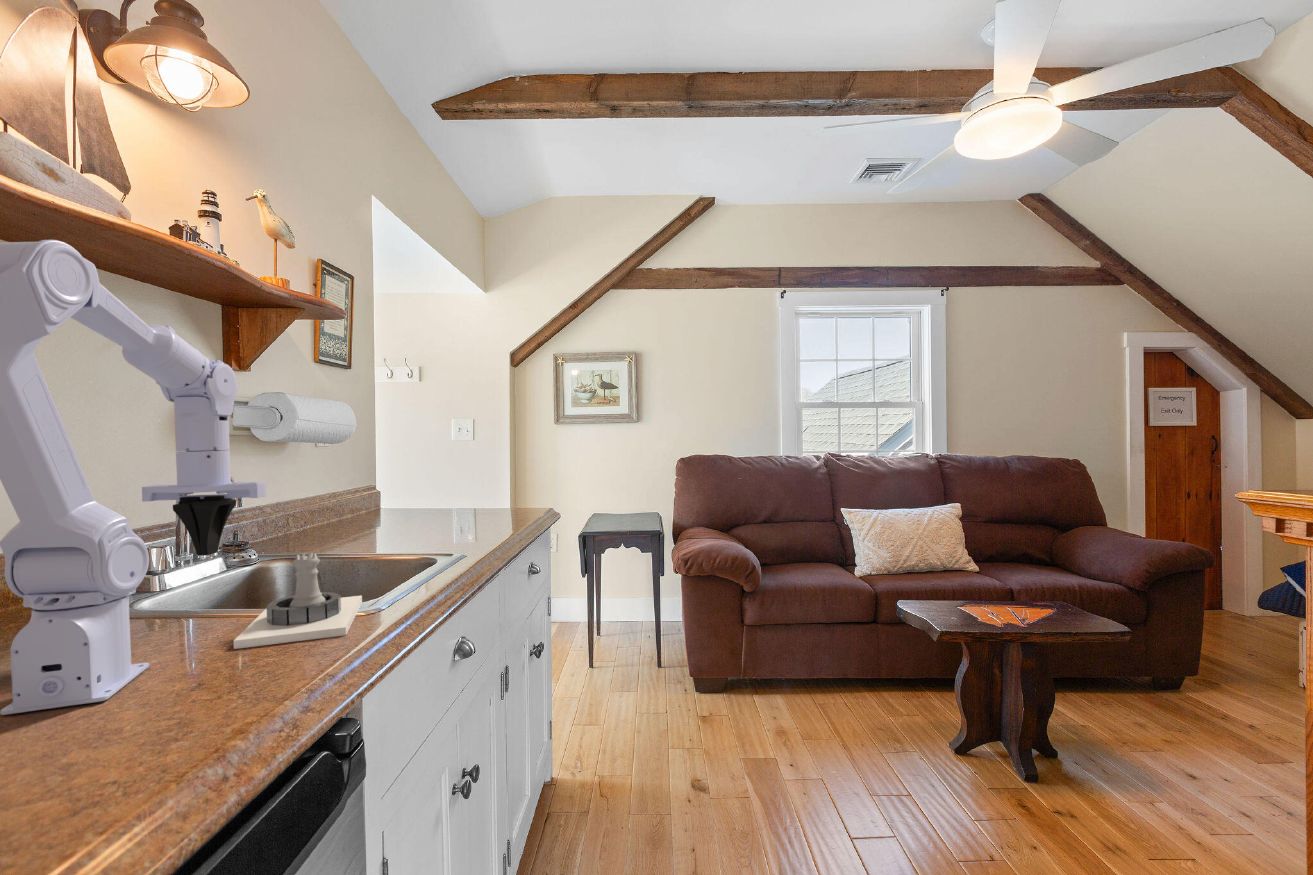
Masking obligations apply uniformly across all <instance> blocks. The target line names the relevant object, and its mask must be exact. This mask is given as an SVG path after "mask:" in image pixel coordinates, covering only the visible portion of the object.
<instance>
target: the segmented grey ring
mask: <svg viewBox="0 0 1313 875" xmlns="http://www.w3.org/2000/svg"><path fill="white" fill-rule="evenodd" d="M320 592H321V593H322V596H323V597H324V598H325V600H326V601H325V602H322V603H319V604H314V605H310V606H304V607H294V608H290V603H291V602H292V601H293V597H294V596H295V594H294V595H290V596H285V597H282V598H279V599H276V600H274V601H271V602H269V603H268V604H267V605H266V606H265V607H266V608H267V622H268V623H270V624H271V625H280V626H288V625H289V626H291V625H299V624H307V623H312V622H316V621H320V620H325V619H328V618H330V617H332V616H335V615H337V614H339V612H340V611H341V598H342V596H341V594H339V593H336V592H333V591H331V592H329V591H327V592H326V591H320ZM266 608H265V609H266Z"/></svg>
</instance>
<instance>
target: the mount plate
mask: <svg viewBox="0 0 1313 875" xmlns="http://www.w3.org/2000/svg"><path fill="white" fill-rule="evenodd" d="M362 604H363V595H351V596H346V597H344V596H343V597H342V596H341V611H340V612H339V614H337V615H335V616H332V617H330V618H328V619H325V620H320V621H316V622H312V623H307V624H299V625H291V626H289V625H288V626H280V625H271V624H270V623H268V622H267V608H265V609H264V610H263V611H262V612H261V613H260V614H259V615H258V616H257V617H256V618H255V619H254V620H253V621H252V622H251V623H250V624H249V625H248V626H246V628H245V629H244V630H243V631H241V633H240V634H238V636H237V637H235V639H234V640H233V650H236V649H238V650H239V649H245V648H254V647H261V646H262V647H263V646H269V645H276V644H277V645H278V644H279V645H280V644H286V643H294V642H301V641H309V640H310V641H311V640H317V639H327V638H335V637H341V636H347V634H348V632H349V630H350V628H351V626H352V623H353V621H354V620H355V618H356V616H357V614H356V613H358V612H359V609H360V607H361V605H362ZM357 611H358V612H357Z"/></svg>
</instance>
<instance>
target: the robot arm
mask: <svg viewBox="0 0 1313 875" xmlns="http://www.w3.org/2000/svg"><path fill="white" fill-rule="evenodd" d="M69 319H73V320H75V321H76V322H78V323H79V324H81V325H83V326H85V327H87V328H88V329H90V330H91V331H93V332H95V333H97V334H99V335H100V336H102V337H104V338H106V339H108V340H110V341H112V342H113V343H115V344H117V345H118V346H120V347H121V350H122V351H121V353H122V357H123V359H124V361H126V363H127V364H129V365H131V366H133V367H134V368H136V369H137V370H138V371H140V372H142V373H144V375H146V376H148V377H150V378H151V379H153V380H154V381H155V384H157V385H158V386H159V388H160V390H161V392H162V394H163V395H164V398H165V399H166V400H167V401H168V402H172V403H173V408H174V409H173V412H174V413H173V414H174V437H175V438H174V439H175V440H174V441H175V464H176V484H159V485H147V486H142V487H141V501H142V503H143V502H154V501H156V502H158V501H178V503H176V504H172V511H173V512H174V513H175V515H177V516H178V518H179V519H180V520H181V522H182V524H183V526H184V527H185V529H186V530H187V533H188V534H189V537H190V539H191V542H192V544H193V547H194V550H195V553H196V556H200V557H201V556H210V555H213V554H217V553H218V550H219V548H220V542H221V537H222V534H223V532H224V528H225V526H226V523H227V521H228V519H229V517H230V515H231V513H232V512H233V510H234V509H235V506H236V505H237V499H243V498H245V499H246V498H248V499H249V498H250V499H258V498H259V499H260V498H263V497H264V498H265V497H267V488H266V486H267V484H266V481H257V482H255V481H251V482H250V481H249V482H247V481H246V482H245V481H244V482H242V481H240V482H239V481H237V482H235V481H234V482H232V476H231V474H232V472H231V451H230V449H231V447H230V421H229V418H230V417H229V416H232V415H233V412H234V401H235V398H236V397H237V395H238V389H239V382H238V381H237V376H236V374H235V372H234V370H233V368H232V367H231V366H230V365H229V364H227V363H225V362H224V361H222V360H219V359H209V358H208V357H207V356H205V355H204V354H203V353H201V351H200V350H199V349H197V348H195V347H193V346H192V345H191V343H190V344H189V343H188V342H187V341H186V340H184V339H183V338H182V337H180V336H179V335H178V334H177V332H176V330H175V329H174V328H172V327H171V325H162V324H156V323H155V324H147V323H146V322H145V321H144V320H143V319H142V318H140V317H139V316H138V315H137V314H136V313H134V312H133V311H132V310H131V309H130V308H129V307H128V306H127V305H125V304H124V303H123V302H122V301H121V300H120V299H118V297H116V296H115V294H113V293H112V292H111V291H110V290H108V289H107V288H106V287H105V286H104V285H102V284H101V283H100V278H99V274H98V270H97V268H96V265H95V264H94V263H93V262H91V261H90V260H88V259H87V258H85V257H83V255H82V254H81V253H80V252H79V251H78V250H77V249H75V248H74V247H73V246H72V245H70V244H68V243H67V242H64V241H60V240H57V239H42V240H38V241H13V242H12V241H11V242H10V241H7V242H5V241H4V242H2V241H1V242H0V481H1V483H2V486H3V488H4V491H5V493H6V494H7V496H8V500H9V501H10V503H11V506H12V508H13V510H14V512H15V513H16V515H17V517H18V520H19V522H17V524H15V525H14V526H13V527H12V528H11V529H9V531H8V532H7V533H5V535H4V536H3V538H1V540H0V549H1V551H2V553H3V557H4V579H5V582H6V585H7V588H8V589H9V590H10V591H11V592H12V593H13V594H14V595H16V596H17V597H20V598H22V600H23V601H22V602H23V608H31V614H30V615H31V617H30V620H29V621H28V623H27V624H26V625H25V626H24V627H23V628H21V629H20V631H18V633H17V634H16V635H15V637H14V639H13V640H12V643H11V645H10V646H11V647H10V671H11V693H12V702H11V703H10V704H8V705H6V706H5V707H3V708H2V709H0V715H1V716H5V715H6V716H7V715H13V714H20V713H29V712H35V711H41V710H47V709H48V710H49V709H56V708H63V707H69V706H77V705H78V706H79V705H83V704H84V705H85V704H92V703H98V702H104V701H107V700H108V699H110V698H111V697H112V696H113V695H115V694H116V693H117V692H119V691H120V690H121V689H123V688H124V687H125V686H126V685H127V684H129V683H130V682H131V681H133V680H134V679H135V678H137V677H138V676H140V674H141V673H143V672H144V671H145V670H146V669H148V668H149V667H150V663H149V662H139V663H132V651H131V650H132V649H131V648H132V647H131V622H130V619H131V618H130V598H129V596H131V595H132V594H135V593H137V588H138V587H140V584H142V582H143V580H144V578H145V576H146V574H147V572H148V569H149V566H150V555H149V549H148V547H147V545H146V543H145V542H144V540H143V539H142V538H141V537H140V536H139V535H138V534H136V533H135V532H134V531H133V529H132V528H131V525H130V523H129V521H128V519H127V517H125V516H124V515H122V514H120V513H118V512H116V511H115V510H112V509H110V508H108V507H107V506H105V505H103V504H100V502H97V501H96V499H95V497H94V495H93V493H92V490H91V487H90V486H89V484H88V480H87V478H86V476H85V473H84V471H83V469H82V467H81V464H80V461H79V459H78V457H77V454H76V452H75V449H74V447H73V444H72V441H71V439H70V438H69V435H68V433H67V430H66V427H65V425H64V422H63V420H62V418H61V416H60V413H59V412H58V411H59V410H58V408H57V406H56V404H55V401H54V399H53V396H52V393H51V391H50V389H49V386H48V384H47V382H46V379H45V376H44V374H43V372H42V370H41V367H40V365H39V362H38V360H37V357H36V356H35V349H36V347H37V346H38V345H39V344H40V342H41V340H42V339H43V338H44V337H46V336H50V335H51V334H52V333H54V332H55V330H57V329H58V328H59V327H60V326H62V324H64V323H66V322H67V321H68V320H69ZM211 492H215V494H194V493H211Z"/></svg>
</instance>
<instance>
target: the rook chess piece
mask: <svg viewBox="0 0 1313 875" xmlns="http://www.w3.org/2000/svg"><path fill="white" fill-rule="evenodd" d="M307 554H308V555H306V553H300V554H296V555H295V558H294V560H293V562H292V565H293V566H294V567H295V569H296V572H295V573H294V576H295V577H296V585H295V593H294V595H295V596H294V595H293V596H294V597H293V601H292V602H291V603H290V608H294V607H304V606H310V605H314V604H319V603H322V602H325V601H326V600H325V598H324V597H323V596H322V593H321V592H322V591H321V590H320V587H319V586H320V585H319V582H318V573H319V570H318V569H317V567H318V565H319V563H320V561H321V559H320V558H319V557H318V556H317V552H316V553H315V552H309V553H307Z"/></svg>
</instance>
